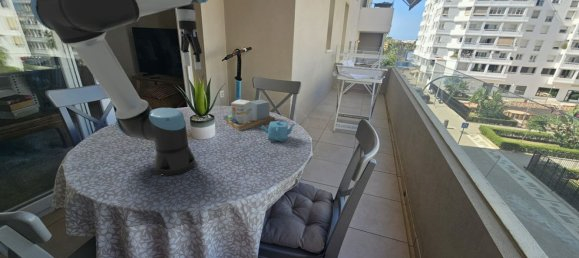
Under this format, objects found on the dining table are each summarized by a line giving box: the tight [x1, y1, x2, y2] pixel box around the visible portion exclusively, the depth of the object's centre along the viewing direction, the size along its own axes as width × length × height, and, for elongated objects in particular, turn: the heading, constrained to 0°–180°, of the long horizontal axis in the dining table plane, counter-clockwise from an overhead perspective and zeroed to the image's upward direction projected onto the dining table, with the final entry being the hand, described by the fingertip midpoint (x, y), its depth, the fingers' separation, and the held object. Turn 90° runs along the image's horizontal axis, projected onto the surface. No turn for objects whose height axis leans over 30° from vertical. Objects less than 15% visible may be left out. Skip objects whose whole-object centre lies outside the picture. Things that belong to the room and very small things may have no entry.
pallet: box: [226, 114, 276, 132], centre depth 144 cm, size 14×25×4 cm, turn 132°
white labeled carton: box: [230, 99, 252, 125], centre depth 138 cm, size 9×8×12 cm
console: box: [223, 115, 232, 122], centre depth 148 cm, size 7×7×3 cm
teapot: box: [260, 120, 296, 143], centre depth 124 cm, size 18×14×10 cm
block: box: [250, 99, 270, 121], centre depth 146 cm, size 8×9×12 cm
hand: (192, 67), depth 118 cm, fingers open, 13 cm apart
